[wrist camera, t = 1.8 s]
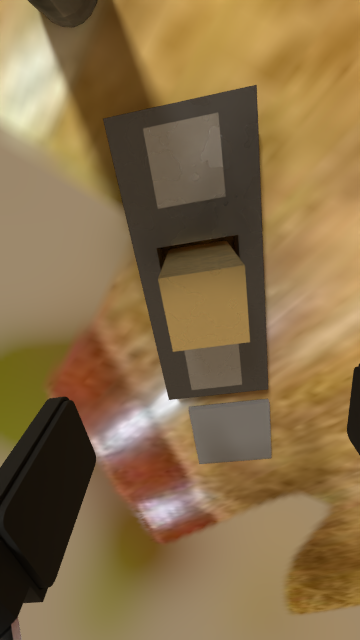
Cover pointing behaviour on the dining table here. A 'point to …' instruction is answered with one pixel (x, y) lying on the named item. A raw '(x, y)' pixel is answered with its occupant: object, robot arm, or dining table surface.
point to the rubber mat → (232, 431)
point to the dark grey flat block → (196, 220)
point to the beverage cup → (65, 10)
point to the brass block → (204, 296)
